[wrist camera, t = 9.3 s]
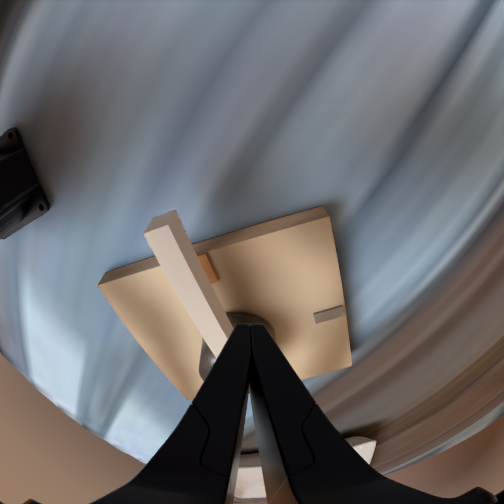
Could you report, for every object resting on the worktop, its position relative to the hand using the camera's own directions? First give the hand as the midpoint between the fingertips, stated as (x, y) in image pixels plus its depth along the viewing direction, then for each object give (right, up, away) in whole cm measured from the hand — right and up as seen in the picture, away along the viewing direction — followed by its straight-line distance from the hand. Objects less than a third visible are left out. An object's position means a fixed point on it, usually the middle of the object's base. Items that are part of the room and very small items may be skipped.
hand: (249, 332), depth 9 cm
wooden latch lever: (-2, 0, +9) cm, 9 cm away
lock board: (-1, -3, +12) cm, 13 cm away
